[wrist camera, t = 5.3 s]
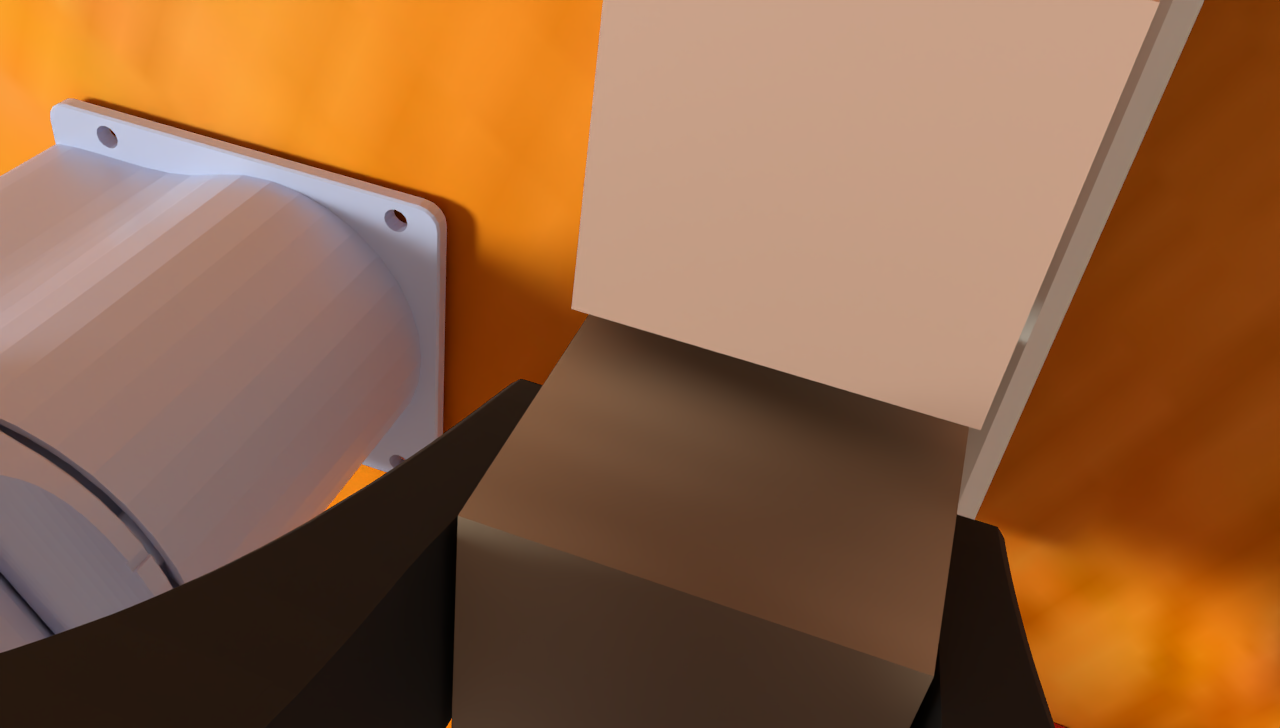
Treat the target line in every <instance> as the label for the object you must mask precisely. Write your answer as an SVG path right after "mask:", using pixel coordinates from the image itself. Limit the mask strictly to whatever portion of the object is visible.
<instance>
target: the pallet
mask: <svg viewBox="0 0 1280 728" xmlns="http://www.w3.org/2000/svg"><path fill="white" fill-rule="evenodd" d="M1172 1H1173V0H1160V3H1159V5H1158V8H1157V10H1156V13H1155V15H1154V17H1153V20H1152V22H1151V25H1150V27H1149V29H1148V32H1147V34H1146V37H1145V39H1144V41H1143V44H1142V46H1141V48H1140V51H1139V53H1138V56H1137V58H1136V60H1135V63H1134V65H1133V68H1132V70H1131V72H1130V75H1129V77H1128V79H1127V82H1126V84H1125V87H1124V89H1123V91H1122V94H1121V96H1120V99H1119V101H1118V103H1117V106H1116V108H1115V111H1114V113H1113V115H1112V118H1111V120H1110V122H1109V125H1108V127H1107V130H1106V132H1105V134H1104V137H1103V139H1102V142H1101V144H1100V146H1099V149H1098V151H1097V153H1096V156H1095V158H1094V161H1093V163H1092V165H1091V168H1090V170H1089V173H1088V175H1087V177H1086V180H1085V182H1084V184H1083V187H1082V189H1081V192H1080V194H1079V196H1078V199H1077V201H1076V204H1075V206H1074V208H1073V211H1072V213H1071V216H1070V218H1069V220H1068V223H1067V225H1066V227H1065V230H1064V232H1063V235H1062V237H1061V239H1060V242H1059V244H1058V247H1057V249H1056V251H1055V254H1054V256H1053V258H1052V261H1051V263H1050V266H1049V268H1048V270H1047V273H1046V275H1045V278H1044V280H1043V282H1042V285H1041V287H1040V290H1039V292H1038V294H1037V297H1036V299H1035V301H1034V304H1033V306H1032V309H1031V311H1030V313H1029V316H1028V318H1027V321H1026V323H1025V325H1024V328H1023V330H1022V332H1021V335H1020V337H1019V340H1018V342H1017V344H1016V347H1015V349H1014V352H1013V354H1012V356H1011V359H1010V361H1009V364H1008V366H1007V368H1006V371H1005V373H1004V375H1003V378H1002V380H1001V383H1000V385H999V387H998V390H997V392H996V395H995V397H994V399H993V402H992V404H991V406H990V409H989V411H988V414H987V416H986V418H985V421H984V423H983V426H982V428H981V430H978V429H974V428H971V427H967V426H964V425H961V424H957V423H954V422H951V421H947V420H944V419H941V418H937V417H934V416H930V415H927V414H924V413H920V412H917V411H914V410H910V409H907V408H903V407H900V406H897V405H893V404H890V403H887V402H883V401H880V400H877V399H873V398H870V397H866V396H863V395H860V394H856V393H853V392H850V391H846V390H843V389H839V388H836V387H833V386H829V385H826V384H823V383H819V382H816V381H813V380H809V379H806V378H802V377H799V376H796V375H792V374H789V373H786V372H782V371H779V370H775V369H772V368H769V367H765V366H762V365H759V364H755V363H752V362H749V361H745V360H742V359H738V358H735V357H732V356H728V355H725V354H722V353H718V352H715V351H711V350H708V349H705V348H701V347H698V346H695V345H691V344H688V343H685V342H681V341H678V340H674V339H671V338H668V337H664V336H661V335H658V334H654V333H651V332H647V331H644V330H641V329H637V328H634V327H631V326H627V325H624V324H621V323H617V322H614V321H610V320H607V319H604V318H600V317H597V316H594V315H590V314H589V315H588V317H587V318H586V320H585V321H584V323H583V324H582V326H581V328H580V329H579V331H578V332H577V334H576V335H575V337H574V338H573V340H572V341H571V343H570V344H569V346H568V347H567V349H566V351H565V352H564V354H563V355H562V357H561V358H560V360H559V361H558V363H557V364H556V366H555V367H554V369H553V370H552V372H551V374H550V375H549V377H548V378H547V380H546V381H545V383H544V384H543V386H542V387H541V389H540V390H539V392H538V393H537V395H536V397H535V398H534V400H533V401H532V403H531V404H530V406H529V407H528V409H527V410H526V412H525V413H524V415H523V416H522V418H521V420H520V421H519V423H518V424H517V426H516V427H515V429H514V430H513V432H512V433H511V435H510V436H509V438H508V440H507V441H506V443H505V444H504V446H503V447H502V449H501V450H500V452H499V453H498V455H497V456H496V458H495V459H494V461H493V463H492V464H491V466H490V467H489V469H488V470H487V472H486V473H485V475H484V476H483V478H482V479H481V481H480V482H479V484H478V486H477V487H476V489H475V490H474V492H473V493H472V495H471V496H470V498H469V499H468V501H467V502H466V504H465V505H464V507H463V509H462V510H461V512H460V513H459V515H458V526H457V560H456V594H455V628H454V662H453V696H452V728H910V726H911V724H912V722H913V720H914V718H915V715H916V713H917V711H918V709H919V707H920V705H921V703H922V701H923V698H924V696H925V694H926V692H927V690H928V688H929V686H930V684H931V681H932V679H933V677H934V672H935V665H936V658H937V651H938V644H939V637H940V629H941V622H942V615H943V608H944V601H945V594H946V587H947V580H948V573H949V566H950V559H951V552H952V545H953V538H954V531H955V524H956V516H957V509H958V503H959V501H960V499H961V496H962V494H963V492H964V489H965V487H966V485H967V482H968V480H969V478H970V475H971V473H972V471H973V468H974V466H975V463H976V461H977V459H978V456H979V454H980V452H981V449H982V447H983V445H984V442H985V440H986V438H987V435H988V433H989V431H990V428H991V426H992V424H993V421H994V419H995V417H996V414H997V412H998V410H999V407H1000V405H1001V402H1002V400H1003V398H1004V395H1005V393H1006V391H1007V388H1008V386H1009V384H1010V381H1011V379H1012V377H1013V374H1014V372H1015V370H1016V367H1017V365H1018V363H1019V360H1020V358H1021V356H1022V353H1023V351H1024V349H1025V346H1026V344H1027V342H1028V339H1029V337H1030V334H1031V332H1032V330H1033V327H1034V325H1035V323H1036V320H1037V318H1038V316H1039V313H1040V311H1041V309H1042V306H1043V304H1044V302H1045V299H1046V297H1047V295H1048V292H1049V290H1050V288H1051V285H1052V283H1053V281H1054V278H1055V276H1056V273H1057V271H1058V269H1059V266H1060V264H1061V262H1062V259H1063V257H1064V255H1065V252H1066V250H1067V248H1068V245H1069V243H1070V241H1071V238H1072V236H1073V234H1074V231H1075V229H1076V227H1077V224H1078V222H1079V220H1080V217H1081V215H1082V212H1083V210H1084V208H1085V205H1086V203H1087V201H1088V198H1089V196H1090V194H1091V191H1092V189H1093V187H1094V184H1095V182H1096V180H1097V177H1098V175H1099V173H1100V170H1101V168H1102V166H1103V163H1104V161H1105V159H1106V156H1107V154H1108V152H1109V149H1110V147H1111V144H1112V142H1113V140H1114V137H1115V135H1116V133H1117V130H1118V128H1119V126H1120V123H1121V121H1122V119H1123V116H1124V114H1125V112H1126V109H1127V107H1128V105H1129V102H1130V100H1131V98H1132V95H1133V93H1134V91H1135V88H1136V86H1137V83H1138V81H1139V79H1140V76H1141V74H1142V72H1143V69H1144V67H1145V65H1146V62H1147V60H1148V58H1149V55H1150V53H1151V51H1152V48H1153V46H1154V44H1155V41H1156V39H1157V37H1158V34H1159V32H1160V30H1161V27H1162V25H1163V23H1164V20H1165V18H1166V15H1167V13H1168V11H1169V8H1170V6H1171V4H1172Z"/></svg>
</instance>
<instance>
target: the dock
mask: <svg viewBox="0 0 1280 728" xmlns="http://www.w3.org/2000/svg"><path fill="white" fill-rule="evenodd" d="M1203 2H1204V0H1173V1H1172V4H1171V6H1170V8H1169V11H1168V13H1167V15H1166V18H1165V20H1164V23H1163V25H1162V27H1161V30H1160V32H1159V34H1158V37H1157V39H1156V41H1155V44H1154V46H1153V48H1152V51H1151V53H1150V55H1149V58H1148V60H1147V62H1146V65H1145V67H1144V69H1143V72H1142V74H1141V76H1140V79H1139V81H1138V83H1137V86H1136V88H1135V91H1134V93H1133V95H1132V98H1131V100H1130V102H1129V105H1128V107H1127V109H1126V112H1125V114H1124V116H1123V119H1122V121H1121V123H1120V126H1119V128H1118V130H1117V133H1116V135H1115V137H1114V140H1113V142H1112V144H1111V147H1110V149H1109V152H1108V154H1107V156H1106V159H1105V161H1104V163H1103V166H1102V168H1101V170H1100V173H1099V175H1098V177H1097V180H1096V182H1095V184H1094V187H1093V189H1092V191H1091V194H1090V196H1089V198H1088V201H1087V203H1086V205H1085V208H1084V210H1083V212H1082V215H1081V217H1080V220H1079V222H1078V224H1077V227H1076V229H1075V231H1074V234H1073V236H1072V238H1071V241H1070V243H1069V245H1068V248H1067V250H1066V252H1065V255H1064V257H1063V259H1062V262H1061V264H1060V266H1059V269H1058V271H1057V273H1056V276H1055V278H1054V281H1053V283H1052V285H1051V288H1050V290H1049V292H1048V295H1047V297H1046V299H1045V302H1044V304H1043V306H1042V309H1041V311H1040V313H1039V316H1038V318H1037V320H1036V323H1035V325H1034V327H1033V330H1032V332H1031V334H1030V337H1029V339H1028V342H1027V344H1026V346H1025V349H1024V351H1023V353H1022V356H1021V358H1020V360H1019V363H1018V365H1017V367H1016V370H1015V372H1014V374H1013V377H1012V379H1011V381H1010V384H1009V386H1008V388H1007V391H1006V393H1005V395H1004V398H1003V400H1002V402H1001V405H1000V407H999V410H998V412H997V414H996V417H995V419H994V421H993V424H992V426H991V428H990V431H989V433H988V435H987V438H986V440H985V442H984V445H983V447H982V449H981V452H980V454H979V456H978V459H977V461H976V463H975V466H974V468H973V471H972V473H971V475H970V478H969V480H968V482H967V485H966V487H965V489H964V492H963V494H962V496H961V499H960V501H959V503H958V509H957V515H961V516H964V517H967V518H970V519H973V520H975V517H976V515H977V513H978V511H979V508H980V506H981V504H982V502H983V499H984V497H985V495H986V493H987V490H988V488H989V486H990V483H991V481H992V479H993V477H994V474H995V472H996V470H997V468H998V465H999V463H1000V461H1001V459H1002V456H1003V454H1004V452H1005V450H1006V447H1007V445H1008V443H1009V441H1010V438H1011V436H1012V434H1013V432H1014V429H1015V427H1016V425H1017V423H1018V420H1019V418H1020V416H1021V413H1022V411H1023V409H1024V407H1025V404H1026V402H1027V400H1028V398H1029V395H1030V393H1031V391H1032V389H1033V386H1034V384H1035V382H1036V380H1037V377H1038V375H1039V373H1040V371H1041V368H1042V366H1043V364H1044V362H1045V359H1046V357H1047V355H1048V352H1049V350H1050V348H1051V346H1052V343H1053V341H1054V339H1055V337H1056V334H1057V332H1058V330H1059V328H1060V325H1061V323H1062V321H1063V319H1064V316H1065V314H1066V312H1067V310H1068V307H1069V305H1070V303H1071V301H1072V298H1073V296H1074V294H1075V291H1076V289H1077V287H1078V285H1079V282H1080V280H1081V278H1082V276H1083V273H1084V271H1085V269H1086V267H1087V264H1088V262H1089V260H1090V258H1091V255H1092V253H1093V251H1094V249H1095V246H1096V244H1097V242H1098V240H1099V237H1100V235H1101V233H1102V231H1103V228H1104V226H1105V224H1106V221H1107V219H1108V217H1109V215H1110V212H1111V210H1112V208H1113V206H1114V203H1115V201H1116V199H1117V197H1118V194H1119V192H1120V190H1121V188H1122V185H1123V183H1124V181H1125V179H1126V176H1127V174H1128V172H1129V170H1130V167H1131V165H1132V163H1133V160H1134V158H1135V156H1136V154H1137V151H1138V149H1139V147H1140V145H1141V142H1142V140H1143V138H1144V136H1145V133H1146V131H1147V129H1148V127H1149V124H1150V122H1151V120H1152V118H1153V115H1154V113H1155V111H1156V109H1157V106H1158V104H1159V102H1160V100H1161V97H1162V95H1163V93H1164V90H1165V88H1166V86H1167V84H1168V81H1169V79H1170V77H1171V75H1172V72H1173V70H1174V68H1175V66H1176V63H1177V61H1178V59H1179V57H1180V54H1181V52H1182V50H1183V48H1184V45H1185V43H1186V41H1187V39H1188V36H1189V34H1190V32H1191V29H1192V27H1193V25H1194V23H1195V20H1196V18H1197V16H1198V14H1199V11H1200V9H1201V7H1202V5H1203Z"/></svg>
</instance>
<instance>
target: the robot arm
mask: <svg viewBox="0 0 1280 728" xmlns="http://www.w3.org/2000/svg"><path fill="white" fill-rule="evenodd" d="M50 119H51V124H52V128H53V133H54V137H55V142H56V145H54V146H52V147H50V148H49V149H47V150H45V151H43V152H42V153H40V154H38V155H36V156H35V157H33V158H31V159H29V160H28V161H26V162H24V163H23V164H21V165H19V166H17V167H16V168H14V169H12V170H10V171H9V172H7V173H5V174H3V175H2V176H0V728H446V727H447V725H448V723H449V722H450V720H451V718H452V696H453V662H454V628H455V594H456V560H457V526H458V515H459V513H460V512H461V510H462V509H463V507H464V505H465V504H466V502H467V501H468V499H469V498H470V496H471V495H472V493H473V492H474V490H475V489H476V487H477V486H478V484H479V482H480V481H481V479H482V478H483V476H484V475H485V473H486V472H487V470H488V469H489V467H490V466H491V464H492V463H493V461H494V459H495V458H496V456H497V455H498V453H499V452H500V450H501V449H502V447H503V446H504V444H505V443H506V441H507V440H508V438H509V436H510V435H511V433H512V432H513V430H514V429H515V427H516V426H517V424H518V423H519V421H520V420H521V418H522V416H523V415H524V413H525V412H526V410H527V409H528V407H529V406H530V404H531V403H532V401H533V400H534V398H535V397H536V395H537V393H538V392H539V390H540V389H541V387H542V386H543V385H540V384H536V383H533V382H530V381H527V380H524V379H520V380H518V381H516V382H514V383H512V384H510V385H509V386H507V387H506V388H505V389H503V390H502V391H501V392H499V393H498V394H497V395H495V396H494V397H493V398H491V399H490V400H489V401H487V402H486V403H485V404H483V405H482V406H481V407H479V408H478V409H477V410H475V411H474V412H473V413H471V414H470V415H469V416H467V417H466V418H465V419H463V420H462V421H460V422H459V423H458V424H456V425H455V426H454V427H452V428H451V429H449V430H448V431H447V432H445V433H444V434H443V402H444V350H445V299H446V247H447V223H446V218H445V216H444V214H443V212H442V211H441V209H440V208H439V207H438V206H437V205H436V204H434V203H433V202H431V201H429V200H427V199H424V198H421V197H417V196H414V195H410V194H407V193H403V192H400V191H396V190H393V189H389V188H386V187H382V186H379V185H375V184H372V183H368V182H364V181H361V180H357V179H354V178H350V177H347V176H343V175H340V174H336V173H333V172H329V171H326V170H322V169H319V168H315V167H312V166H308V165H305V164H301V163H298V162H294V161H291V160H287V159H284V158H280V157H277V156H273V155H270V154H266V153H263V152H259V151H256V150H252V149H249V148H245V147H242V146H238V145H235V144H231V143H228V142H224V141H221V140H217V139H214V138H210V137H207V136H203V135H200V134H196V133H193V132H189V131H186V130H182V129H179V128H175V127H172V126H168V125H164V124H161V123H157V122H154V121H150V120H147V119H143V118H140V117H136V116H133V115H129V114H126V113H122V112H119V111H115V110H112V109H108V108H105V107H101V106H98V105H94V104H91V103H87V102H84V101H80V100H77V99H66V100H64V101H62V102H60V103H58V104H56V105H55V106H53V107H52V109H51V111H50ZM109 128H110V129H111V130H112V131H113V132H114V133H115V135H116V137H117V138H115V136H114V135H113V134H112V133H111V131H110V129H109ZM394 210H397V211H399V212H401V213H402V214H403V215H404V217H405V218H406V221H407V223H404V222H402V221H400V220H399V219H398V218H397V217H396V216H395V213H394ZM400 456H401V457H403V458H404V459H405V460H404V459H402V458H401V457H400ZM361 464H364V465H367V466H370V467H373V468H376V469H379V470H382V471H385V472H387V473H386V474H384V475H383V476H381V477H380V478H378V479H377V480H375V481H373V482H372V483H370V484H369V485H367V486H366V487H364V488H362V489H361V490H359V491H357V492H356V493H354V494H352V495H351V496H349V497H347V498H346V499H344V500H342V501H341V502H339V503H337V504H336V505H334V506H333V507H331V508H329V509H328V510H326V511H325V509H326V508H327V507H328V506H329V504H330V503H331V502H332V501H333V499H334V498H335V497H336V496H337V494H338V493H339V492H340V491H341V489H342V488H343V487H344V486H345V484H346V483H347V482H348V481H349V479H350V478H351V477H352V476H353V474H354V473H355V472H356V471H357V469H358V468H359V467H360V465H361ZM910 728H1055V725H1054V723H1053V720H1052V717H1051V714H1050V711H1049V707H1048V704H1047V701H1046V698H1045V695H1044V692H1043V689H1042V686H1041V683H1040V680H1039V677H1038V674H1037V671H1036V668H1035V664H1034V661H1033V658H1032V654H1031V651H1030V647H1029V644H1028V641H1027V637H1026V633H1025V629H1024V626H1023V622H1022V618H1021V614H1020V611H1019V607H1018V603H1017V599H1016V594H1015V590H1014V586H1013V582H1012V577H1011V573H1010V568H1009V563H1008V558H1007V552H1006V547H1005V540H1004V537H1003V536H1002V534H1001V532H1000V530H999V529H998V527H996V526H993V525H989V524H986V523H983V522H980V521H977V520H973V519H970V518H967V517H964V516H961V515H957V516H956V524H955V531H954V538H953V545H952V552H951V559H950V566H949V573H948V580H947V587H946V594H945V601H944V608H943V615H942V622H941V629H940V637H939V644H938V651H937V658H936V665H935V672H934V677H933V679H932V681H931V684H930V686H929V688H928V690H927V692H926V694H925V696H924V698H923V701H922V703H921V705H920V707H919V709H918V711H917V713H916V715H915V718H914V720H913V722H912V724H911V726H910Z"/></svg>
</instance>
